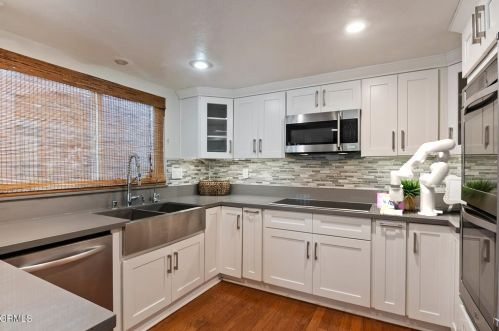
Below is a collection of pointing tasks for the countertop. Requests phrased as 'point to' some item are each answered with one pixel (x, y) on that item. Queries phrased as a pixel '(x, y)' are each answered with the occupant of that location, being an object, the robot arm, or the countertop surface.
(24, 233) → the countertop surface
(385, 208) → the block
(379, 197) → the gum box
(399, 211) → the trap board
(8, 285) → the countertop surface
